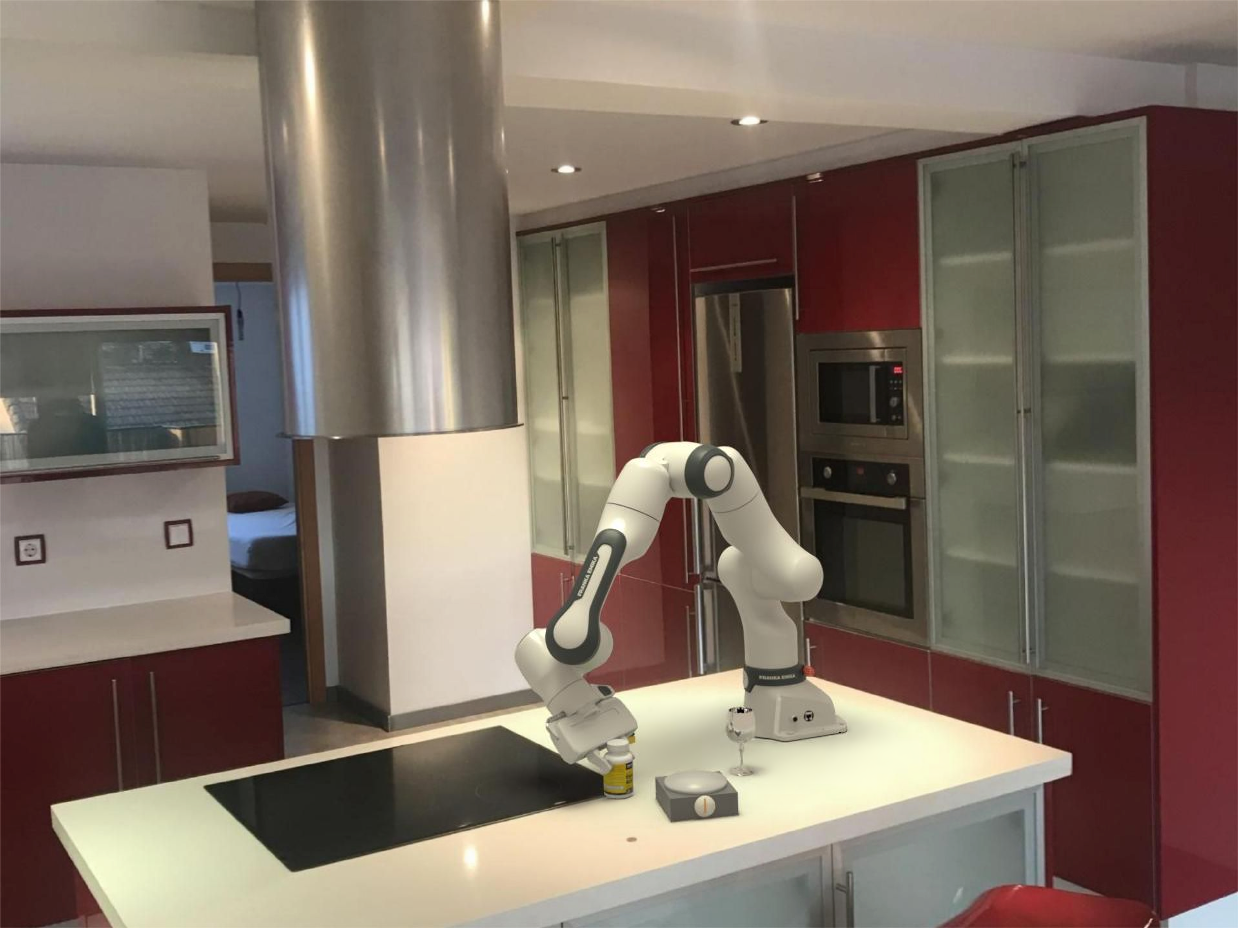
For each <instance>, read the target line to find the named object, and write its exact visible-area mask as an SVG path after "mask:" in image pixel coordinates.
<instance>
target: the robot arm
mask: <svg viewBox="0 0 1238 928" xmlns="http://www.w3.org/2000/svg"><path fill="white" fill-rule="evenodd" d="M671 498H678V499H698V500H699V499H700V500H705V501H706V503H707V505H708V507H709V510H710V511H711V512H710V513H711V514H712V516H713V518H714V521H715V522H716V524H717V526H718V529H719V531H720V533H721V535H722V537H723V538H724V540H725V541H726V542H727V543H728V544H729V545H730V546H728V547H727V548H726V549H724V550H723V552H722V553H721V555H720V557H719V559H718V563H717V575H718V577H719V580H720V582H721V584H722V585H723V586H724V587H725V588H726V589H727V591H728V592H729V593H730V595H731V597H732V599H733V601H734V603H735V605H736V608H737V611H738V612H739V616H740V620H741V623H742V628H743V629H742V630H743V641H744V662H743V664H742V666H743V667H742V669H743V670H742V684H743V685H742V687H743V689H744V690H743V691H744V699H743V706H742V707H748V708H751V709H753V713H754V716H755V721H756V734H755V736H754V737H757V738H766V739H772V740H776V741H781V742H789V741H790V742H791V741H796V740H802V739H809V738H814V737H815V738H816V737H820V736H827V735H828V736H829V735H833V734H840V733H839V732H841V733H845V732H846V731H847V730H848V726H847V723H846V721H845V719H844V718H843V717H841V716H839V715H837V713H836V709H835V705H834V703H833V700H832V698H831V697H830V696H829V695H828V694H827V693H826V692H825V691H823V689H821V688H820V687H818V686H817V685H816V684H815V683H813V682H811V681H810V680H809V679H807V678H811V677H813V676H814V675H815V669H814V668H813V667H812V666H810V665H806V664H804V663H802V662H801V661H799V657H798V655H799V654H798V653H799V652H798V627H797V625H796V624H795V622H794V621H793V619H792V618H791V617H790V616H789V615H788V614H787V613H786V611H785V610H784V608H783V606H782V603H781V602H787V603H796V602H805V601H810V600H812V599H814V598H815V597H816V596H817V595H818V594H819V592H820V590H821V588H822V587H823V581H824V571H823V567H822V564H821V562H820V560H819V559H818V558H817V557H816V556H815V555H813V554H811V553H809V552H808V551H806V550H805V549H804V548H803V547H802V546H801V545H799V544H798V543H797V542H796V540H794V539H793V538H792V537H791V535H790V534H789V533H788V532H787V531H786V530H785V528H783V526H782V525H781V524H780V522H779V521H778V520H777V518H776V517H775V515H774V513H773V512H772V510H771V508H770V506H769V503H768V501H767V499H766V498H765V496H764V493H763V491H762V489H761V486H760V485H759V482H758V481H757V478H756V477H755V475H754V473H753V471H752V470H751V468H750V467H749V464H747V462H746V461H745V459H744V457H743V456H742V455H741V454H740V452H739V451H737V450H736V449H735V448H733V447H731V446H724V445H723V446H715V445H712V444H702V443H699V442H698V443H697V442H693V441H692V442H691V441H674V442H673V441H671V442H668V441H659V442H655V443H651V444H649V445H648V446H646V447H644V449H643V450H642V451H641V452H640V454H639V455H638V456H637V457H636V458H632V459H630V460H629V461H628V462H626V464H625V465H624V466H623V468H622V469H621V472H620V473H619V475H618V477H617V478H616V480H615V482H614V484H613V486H612V488H611V491H610V492H609V495H608V497H607V500H606V502H605V505H604V508H603V510H602V513H601V516H600V519H599V523H598V526H597V529H596V533H595V535H594V538H593V541H592V544H591V546H590V548H589V550H588V552H587V555H586V557H585V559H584V561H583V564H582V567H581V569H580V571H579V573H578V576H577V578H576V579H575V582H574V585H573V587H572V590H571V592H570V593H569V595H568V597H567V599H566V601H565V602H564V604H563V605H562V606H561V607H560V608H559V609H558V610H557V611H556V612H555V614H554V615H553V616H552V617H551V618H550V619H549V622H548V623H547V626H546V627H544V628H539V627H538V628H534V629H532V630H531V631H529V632H528V633H527V634H525V635H524V636H523V637H522V639H521V640H520V641H519V642H518V644H517V646H516V648H515V651H514V661H515V664H516V666H517V669H518V670H519V672H520V673H521V675H522V677H523V678H524V680H525V681H526V683H527V684H528V685H529V687H530V688H531V689H532V691H533V692H535V693H536V694H537V695H539V697H540V698H541V699H542V701H543V702H544V706H545V707H546V710H547V711H548V712H549V713H550V714H551V716H549V717H548V718H546V721H545V729H546V731H547V733H548V734H549V736H550V737H549V738H550V739H551V742H552V744H553V745H554V747H555V749H556V751H557V753H558V754H559V755H560V757H561V758H562V759H563V761H564V762H565V763H568V764H569V765H573V764H575V763H577V762H579V761H582V760H583V759H587V761H588V762H589V763H591V765H594V766H595V767H597V768H599V769H600V770H601V772H602V773H603V775H604V774H608V773H610V772H611V771H612V770H613V769H614V765H613V764H612V762H611V761H610V760H608V761H607V760H605V759H604V758H603V757H604V756H603V757H602V755H600V754H601V751H603V750H605V749H606V748H607V742H608V741H611V740H613V739H624V740H627V741H628V742H629V740H628V739H627V738H628V737H630V736H631V735H632V734H633V733H635V732H636V731H637V730H638V721H637V720H636V718H635V716H634V715H633V713H632V712H631V711H630V709H629V708H628V707H627V705H626V704H625V703H624V702H623V701H622V700H621V699H620V698H618V697H616V696H615V694H616V692H615V690H614V688H613V687H612V686H611V685H609V684H608V685H607V684H605V685H604V684H595V683H588V682H587V680H586V679H585V678H584V675H587V674H589V673H590V672H592V671H594V670H596V669H597V668H599V667H601V666H602V665H603V664H605V663H607V661H608V660H609V658H611V656H612V653H613V651H614V647H615V646H614V645H615V643H614V642H615V641H614V636H613V633H612V631H611V630H610V628H609V627H608V626H607V625H606V624H605V623H603V622H602V621H601V614H602V613H601V612H602V609H603V607H604V605H605V602H606V600H607V598H608V595H609V593H610V591H611V588H612V585H613V583H614V581H615V578H616V576H617V575H618V573H619V572H620V571H621V569H622V568H624V566H625V565H626V564H629V563H630V562H631V561H636V560H638V559H640V558H642V557H644V555H645V554H646V553H647V551H648V550H649V548H650V546H651V545H652V543H653V541H654V539H655V538H656V535H657V533H658V529H659V527H660V523H661V521H662V518H663V515H664V512H665V508H666V504H668V501H670V500H671ZM627 752H629V753H631V755H632V757H633V761H634V760H635V759H636V755H635V753H634V752H633V751H632V749H631V744H629V750H628V751H627Z"/></svg>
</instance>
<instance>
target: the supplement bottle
mask: <svg viewBox="0 0 1238 928" xmlns="http://www.w3.org/2000/svg"><path fill="white" fill-rule="evenodd" d="M628 750H629V742H628V741H627V740H624V739H613V740H611V741H608V742H607V749H606V751H607V752H606V753H604V754H603V758H604V759H605V760H607V761H608V760H610V761H611V762H612V764H613V765H614V769H613V770H612V771H611V772H610V773H608V774H604V773H603V793H604V796H605V795H606V796H605V797H607V798H609V797H610V798H609V799H615V798H616V799H626V798H629V797H631V796H633V794H634V760H633V757H632V755H631V753H629V752H627V751H628Z"/></svg>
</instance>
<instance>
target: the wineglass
mask: <svg viewBox="0 0 1238 928" xmlns="http://www.w3.org/2000/svg"><path fill="white" fill-rule="evenodd" d="M725 732H726V736H727V737H728V739H729V740H731V741H732V742H734V743H736V744H739V746H738V752H739V755H740V764H739V767H735V768H732V769H731V770H730V771H729V772H730V774H731V775H734V776H749V775H752V774H754V773H755V771H754V769H752V768H749V767H745V765H744V751H745V746H744V744H746V743H749V742H750V741H752V740H753V739H754V738H755V737H756V736H755V734H756V721H755V716H754V713H753V709H751V708H748V707H743V706H736V707H731V708H728V710H727V715H726V720H725Z"/></svg>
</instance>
